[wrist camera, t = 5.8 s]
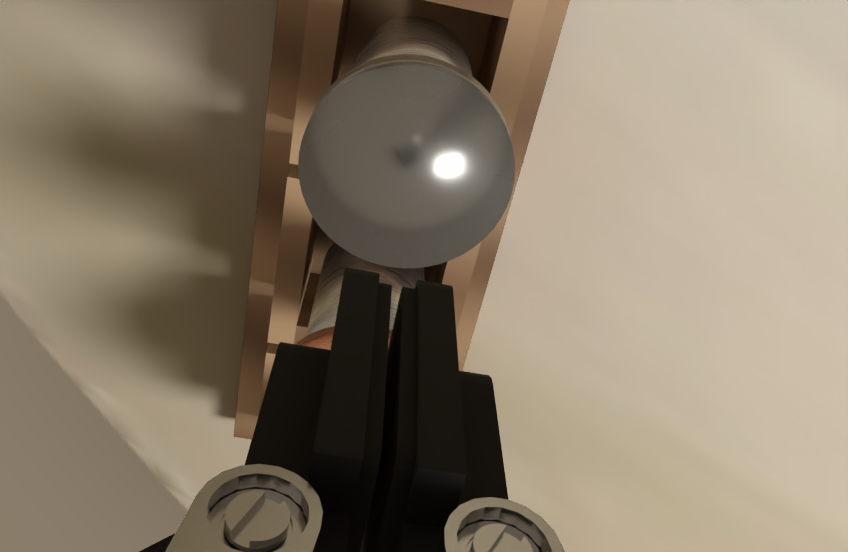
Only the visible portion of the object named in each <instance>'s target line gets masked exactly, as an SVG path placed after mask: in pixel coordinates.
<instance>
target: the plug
mask: <svg viewBox="0 0 848 552" xmlns="http://www.w3.org/2000/svg"><path fill="white" fill-rule="evenodd" d="M298 174H299V182H300V187H301V191H302V195H303V197H304V200H305V203H306V205H307V207H308V209H309V211H310V213H311V215H312V217H313V218H314V220H315V221H316V222H317V224H318V225H319V227H320V228H321V229H322V230H323V231H324V232H325V233H326V234H327V236H328V237H329V238H331V239H332V240H333V241H334V242H335V243H336V244H338V245H339V246H340V247H342V248H343V249H345V250H346V251H348V252H349V253H351V254H353V255H355V256H357V257H359V258H361V259H363V260H366V261H369V262H371V263H374V264H378V265H382V266H387V267H394V268H422V267H429V266H433V265H438V264H441V263H444V262H447V261H450V260H453V259H455V258H457V257H459V256H461V255H463V254H465V253H466V252H468V251H469V250H471V249H472V248H474V247H475V246H476V245H478V244H479V243H480V242H481V241H482V240H484V239H485V238H486V237H487V236H488V234H489V233H490V232H491V231H492V230H493V229H494V228H495V226H496V225H497V223H498V222H499V221H500V219H501V218H502V216H503V214H504V212H505V210H506V208H507V206H508V203H509V200H510V198H511V195H512V190H513V185H514V179H515V159H514V152H513V147H512V142H511V139H510V135H509V131H508V128H507V125H506V122H505V119H504V117H503V114H502V112H501V110H500V109H499V107H498V105H497V103H496V102H495V100H494V99H493V97H492V96H491V95H490V93H489V92H488V91H487V90H486V89H485V88H484V87H483V86H482V85H481V84H480V83H479V82H478V81H477V80H476V79H475V78H473V76H472V71H471V66H470V61H469V58H468V55H467V52H466V50H465V48H464V46H463V44H462V43H461V42H460V40H459V39H458V37H457V36H456V35H455V34H454V33H453V32H452V31H451V30H449V29H448V28H447V27H445V26H444V25H442V24H441V23H439V22H436V21H434V20H432V19H428V18H425V17H418V16H405V17H399V18H395V19H392V20H390V21H387V22H385V23H383V24H382V25H380V26H378V27H377V28H376V29H375V30H373V31H372V32H371V33H370V34H369V35H368V36H367V37H366V39H365V40H364V42H363V43H362V45H361V47H360V48H359V50H358V53H357V56H356V59H355V62H354V65H353V68H352V69H351V70H350V71H348V72H346V73H345V74H344V75H342V76H341V77H340V78H339V79H337V80H336V81H335V82H334V83H333V84H332V85H331V86H330V87H329V88H328V89H327V90H326V91H325V93H324V94H323V96H322V97H321V98H320V100H319V101H318V103H317V105H316V107H315V108H314V110H313V112H312V114H311V117H310V119H309V122H308V124H307V127H306V129H305V132H304V135H303V138H302V141H301V145H300V150H299V158H298Z"/></svg>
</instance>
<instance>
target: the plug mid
mask: <svg viewBox="0 0 848 552" xmlns="http://www.w3.org/2000/svg"><path fill="white" fill-rule="evenodd" d="M345 267H347V268H353V269H358V270H364V271H370V272H376V273H380V276H379V283H385V284H391V285H392V292H391V308H390V325H389V341H388V347H389V343H390V338H391V333H392V329H393V324H394V320H395V315H396V311H397V306H398V302H399V297H400V293H401V289H402V287H408V288H415V285H416V282H417V280H422V281H424V267H422V268H394V267H387V266H382V265H378V264H374V263H371V262H369V261H366V260H363V259H361V258H359V257H357V256H355V255H353V254H351V253H349V252H348V251H346V250H345V249H343V248H342V247H340V246H339V245H338V244H336V243H335V242H334V243H333V244H332V246H331V247H330V248H329V250H328V251H327V253H326V255H325V258H324V261H323V266H322V270H321V274H320V278H319V282H318V286H317V291H316V295H315V299H314V303H313V307H312V311H311V316H310V320H309V324H308V328H307V332H306V336H305V337H304V338H303V339H301V340H300V341H298V342H297V343H296V345H302V346H309V347H315V348H321V349H327V350H331V344H332V339H333V333H334V327H335V321H336V316H337V310H338V304H339V299H340V293H341V287H342V281H343V276H344V270H345Z"/></svg>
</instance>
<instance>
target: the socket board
mask: <svg viewBox="0 0 848 552" xmlns="http://www.w3.org/2000/svg"><path fill="white" fill-rule="evenodd" d="M569 1H570V0H278V3H277V13H276V23H275V33H274V43H273V53H272V63H271V73H270V83H269V93H268V102H267V112H266V122H265V132H264V142H263V152H262V162H261V172H260V182H259V191H258V201H257V211H256V221H255V231H254V241H253V251H252V261H251V271H250V281H249V290H248V300H247V310H246V320H245V330H244V340H243V350H242V360H241V370H240V380H239V389H238V399H237V409H236V419H235V429H234V437H239V438H246V439H252V438H253V434H254V430H255V427H256V423H257V420H258V416H259V412H260V409H261V405H262V402H263V398H264V394H265V391H266V387H267V384H268V380H269V377H270V373H271V369H272V366H273V362H274V359H275V355H276V351H277V348H278V345H279V343H280V342H284V343H290V344H296V343H297V342H298V341H300V340H301V339H303V338H304V337H305V336H306V332H307V328H308V324H309V320H310V316H311V311H312V307H313V303H314V299H315V295H316V291H317V286H318V282H319V278H320V274H321V270H322V266H323V261H324V258H325V255H326V253H327V251H328V250H329V248H330V247H331V246H332V244H333V243H334V241H333V240H332V239H331V238H329V237H328V236H327V234H326V233H325V232H324V231H323V230H322V229H321V228H320V227H319V225H318V224H317V222H316V221H315V220H314V218H313V217H312V215H311V213H310V211H309V209H308V207H307V205H306V203H305V200H304V197H303V195H302V191H301V187H300V182H299V174H298V158H299V150H300V145H301V141H302V138H303V135H304V132H305V129H306V127H307V124H308V122H309V119H310V117H311V114H312V112H313V110H314V108H315V107H316V105H317V103H318V101H319V100H320V98H321V97H322V96H323V94H324V93H325V91H326V90H327V89H328V88H329V87H330V86H331V85H332V84H333V83H334V82H335V81H336V80H337V79H339V78H340V77H341V76H342V75H344V74H345V73H346V72H348V71H350V70H351V69H352V68H353V65H354V62H355V59H356V56H357V53H358V50H359V48H360V47H361V45H362V43H363V42H364V40H365V39H366V37H367V36H368V35H369V34H370V33H371V32H372V31H373V30H375V29H376V28H377V27H378V26H380V25H382V24H383V23H385V22H387V21H390V20H392V19H395V18H399V17H405V16H418V17H425V18H428V19H432V20H434V21H436V22H439V23H441V24H442V25H444V26H445V27H447V28H448V29H449V30H451V31H452V32H453V33H454V34H455V35H456V36H457V37H458V39H459V40H460V42H461V43H462V44H463V46H464V48H465V50H466V52H467V55H468V58H469V61H470V66H471V71H472V76H473V78H475V79H476V80H477V81H478V82H479V83H480V84H481V85H482V86H483V87H484V88H485V89H486V90H487V91H488V92H489V93H490V95H491V96H492V97H493V99H494V100H495V102H496V103H497V105H498V107H499V109H500V110H501V112H502V114H503V117H504V119H505V122H506V125H507V128H508V131H509V135H510V139H511V142H512V147H513V152H514V159H515V179H514V185H513V190H512V195H511V198H510V200H509V203H508V206H507V208H506V210H505V212H504V214H503V216H502V218H501V219H500V221H499V222H498V223H497V225H496V226H495V228H494V229H493V230H492V231H491V232H490V233H489V234H488V236H487V237H486V238H485V239H484V240H482V241H481V242H480V243H479V244H478V245H476V246H475V247H474V248H472V249H471V250H469V251H468V252H466V253H465V254H463V255H461V256H459V257H457V258H455V259H453V260H450V261H447V262H444V263H441V264H438V265H433V266H429V267H424V281H428V282H434V283H439V284H445V285H451V286H453V295H454V308H455V322H456V335H457V349H458V363H459V371H462V370H463V367H464V363H465V360H466V356H467V353H468V349H469V346H470V342H471V339H472V336H473V332H474V329H475V325H476V322H477V318H478V315H479V311H480V308H481V305H482V301H483V298H484V294H485V291H486V287H487V284H488V280H489V277H490V274H491V270H492V267H493V263H494V260H495V256H496V253H497V249H498V246H499V243H500V239H501V236H502V232H503V229H504V225H505V222H506V218H507V215H508V212H509V208H510V205H511V201H512V198H513V194H514V191H515V187H516V184H517V181H518V177H519V174H520V170H521V167H522V163H523V160H524V156H525V153H526V150H527V146H528V143H529V139H530V136H531V132H532V129H533V125H534V122H535V119H536V115H537V112H538V108H539V105H540V101H541V98H542V94H543V91H544V88H545V84H546V81H547V77H548V74H549V70H550V67H551V63H552V60H553V57H554V53H555V50H556V46H557V43H558V39H559V36H560V32H561V29H562V26H563V22H564V19H565V15H566V12H567V8H568V5H569Z"/></svg>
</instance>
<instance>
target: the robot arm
mask: <svg viewBox="0 0 848 552" xmlns="http://www.w3.org/2000/svg"><path fill="white" fill-rule="evenodd" d="M379 276H380V273H376V272H370V271H364V270H358V269H353V268H347V267H345V270H344V276H343V281H342V287H341V293H340V299H339V304H338V310H337V316H336V321H335V327H334V333H333V339H332V344H331V350H327V349H321V348H315V347H309V346H302V345H296V344H290V343H284V342H280V343H279V345H278V348H277V351H276V355H275V359H274V362H273V366H272V369H271V373H270V377H269V380H268V384H267V387H266V391H265V394H264V398H263V402H262V405H261V409H260V412H259V416H258V420H257V423H256V427H255V430H254V434H253V438H252V441H251V445H250V448H249V452H248V455H247V459H246V463H245V465H242V466H238V467H235V468H232V469H229V470H226V471H223V472H221V473H220V474H218V475H217V476H215V477H214V478H212V479H211V480H209V481H208V482H207V483H206V484H205V485H204V486H203V488H202V489H201V490H200V491H199V493H198V494H197V495H196V497H195V499H194V501H193V502H192V504H191V506H190V508H189V510H188V511H187V513H186V515H185V517H184V519H183V520H182V522H181V524H180V526H179V528H178V530H177V531H176V533H175V534H173V535H171V536H169V537H167V538H165V539H163V540H161V541H159V542H157V543H155V544H153V545H151V546H149V547H147V548H145V549H144V550H142V551H140V552H564V549H563V546H562V544H561V542H560V541H559V539H558V537H557V535H556V533H555V531H554V530H553V529H552V528H551V527H550V526H549V525H548V523H547V522H546V521H545V520H544V519H543V518H542V517H541V516H539V515H538V514H536V513H535V512H533V511H532V510H530V509H529V508H527V507H526V506H523V505H521V504H518V503H516V502H513V501H511V500H508V494H507V487H506V479H505V472H504V464H503V457H502V449H501V442H500V434H499V427H498V419H497V412H496V404H495V397H494V389H493V383H492V379H491V377H490V376H489V375H482V374H476V373H470V372H464V371H459V363H458V349H457V335H456V322H455V308H454V295H453V286H451V285H445V284H439V283H434V282H428V281H422V280H417V282H416V285H415V288H408V287H402V289H401V293H400V297H399V302H398V306H397V311H396V315H395V320H394V324H393V329H392V333H391V338H390V343H389V347H388V341H389V325H390V308H391V292H392V285H391V284H385V283H379Z"/></svg>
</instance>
